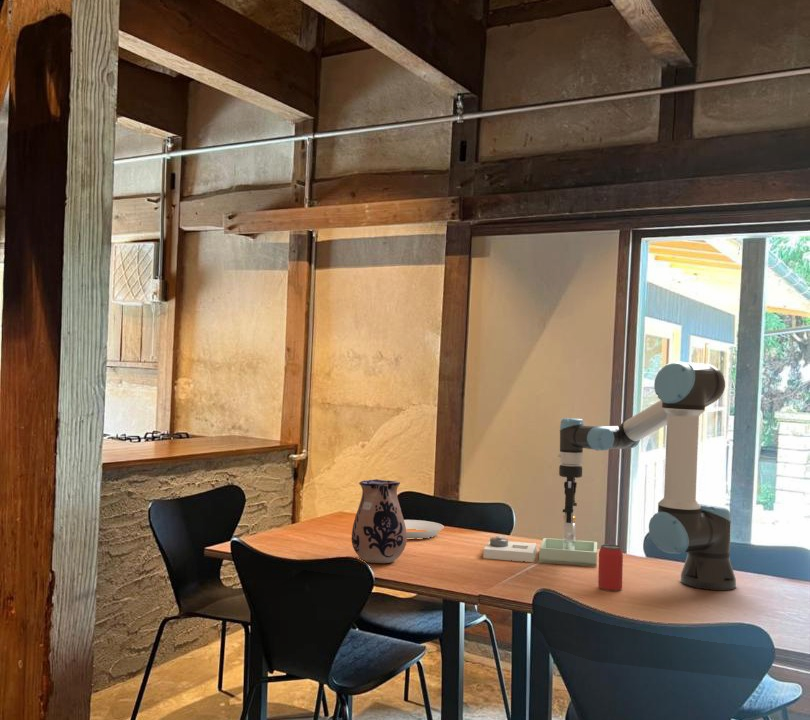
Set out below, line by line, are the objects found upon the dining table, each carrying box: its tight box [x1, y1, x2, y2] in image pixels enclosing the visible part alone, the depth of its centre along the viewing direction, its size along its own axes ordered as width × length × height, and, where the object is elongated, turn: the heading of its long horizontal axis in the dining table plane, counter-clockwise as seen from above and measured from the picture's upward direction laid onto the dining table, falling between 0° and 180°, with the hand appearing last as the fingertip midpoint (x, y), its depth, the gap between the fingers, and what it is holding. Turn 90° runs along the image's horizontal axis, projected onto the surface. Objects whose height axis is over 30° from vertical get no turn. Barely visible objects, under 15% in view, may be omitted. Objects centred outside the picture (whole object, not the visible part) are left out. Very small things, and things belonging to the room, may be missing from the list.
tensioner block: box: [482, 535, 538, 563], centre depth 265 cm, size 16×16×6 cm
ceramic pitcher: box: [351, 478, 408, 564], centre depth 253 cm, size 18×21×25 cm
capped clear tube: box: [562, 514, 577, 550], centre depth 262 cm, size 4×4×13 cm
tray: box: [538, 537, 598, 567], centre depth 262 cm, size 18×18×4 cm
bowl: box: [404, 519, 444, 539], centre depth 296 cm, size 25×25×4 cm
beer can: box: [597, 543, 624, 592], centre depth 224 cm, size 7×7×12 cm
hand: (569, 529), depth 262 cm, fingers open, 13 cm apart
